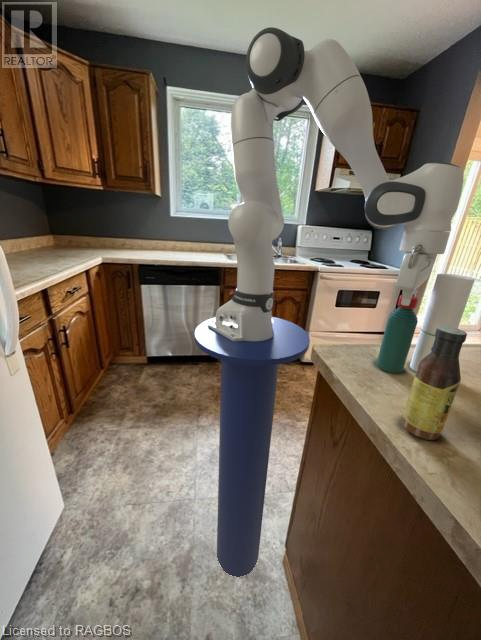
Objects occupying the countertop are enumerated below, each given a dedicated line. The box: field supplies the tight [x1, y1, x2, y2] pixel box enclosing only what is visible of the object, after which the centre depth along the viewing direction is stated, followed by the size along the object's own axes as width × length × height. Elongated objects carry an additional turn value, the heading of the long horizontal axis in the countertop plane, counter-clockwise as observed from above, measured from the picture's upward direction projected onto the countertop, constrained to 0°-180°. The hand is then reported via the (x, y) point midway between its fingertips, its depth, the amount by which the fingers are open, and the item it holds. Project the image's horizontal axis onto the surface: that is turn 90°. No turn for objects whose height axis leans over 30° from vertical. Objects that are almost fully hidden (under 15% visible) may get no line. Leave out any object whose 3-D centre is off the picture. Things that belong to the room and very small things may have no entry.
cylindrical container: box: [409, 273, 476, 373], centre depth 68 cm, size 7×7×25 cm
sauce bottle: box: [402, 326, 468, 441], centre depth 47 cm, size 6×6×20 cm
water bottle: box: [375, 306, 419, 374], centre depth 69 cm, size 6×6×19 cm
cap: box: [397, 294, 419, 310], centre depth 66 cm, size 4×4×2 cm
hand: (407, 302), depth 66 cm, fingers closed on cap, 4 cm apart
